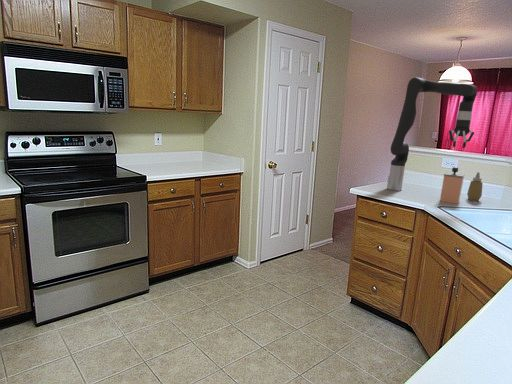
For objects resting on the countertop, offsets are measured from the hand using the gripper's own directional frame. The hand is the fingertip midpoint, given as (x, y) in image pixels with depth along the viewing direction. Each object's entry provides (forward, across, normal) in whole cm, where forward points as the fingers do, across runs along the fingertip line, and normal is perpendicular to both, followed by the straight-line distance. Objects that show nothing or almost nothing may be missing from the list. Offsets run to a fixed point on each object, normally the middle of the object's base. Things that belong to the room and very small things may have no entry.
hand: (458, 147), depth 222 cm
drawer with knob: (+32, 0, 0) cm, 32 cm away
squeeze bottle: (+33, +12, +16) cm, 39 cm away
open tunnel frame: (+33, 0, 0) cm, 33 cm away
